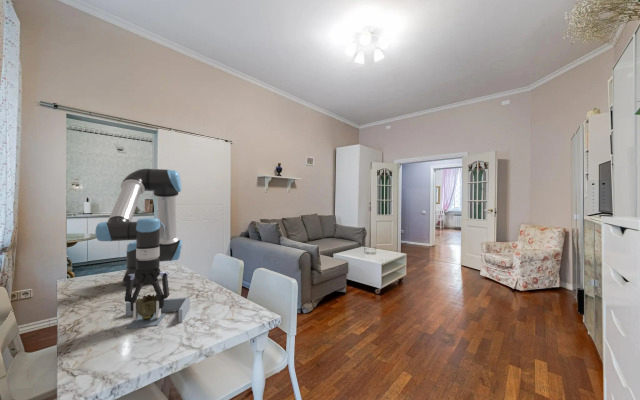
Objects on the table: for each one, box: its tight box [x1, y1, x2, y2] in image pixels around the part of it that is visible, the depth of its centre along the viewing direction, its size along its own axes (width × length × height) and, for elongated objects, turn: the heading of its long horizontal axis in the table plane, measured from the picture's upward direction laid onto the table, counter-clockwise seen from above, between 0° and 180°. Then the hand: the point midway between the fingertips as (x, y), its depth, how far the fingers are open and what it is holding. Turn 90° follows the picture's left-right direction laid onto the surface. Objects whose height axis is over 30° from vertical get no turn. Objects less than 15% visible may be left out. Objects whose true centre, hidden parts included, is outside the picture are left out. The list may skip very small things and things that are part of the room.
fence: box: [125, 296, 191, 324], centre depth 99 cm, size 13×23×5 cm, turn 105°
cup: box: [136, 294, 159, 320], centre depth 97 cm, size 8×7×8 cm
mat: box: [125, 312, 167, 330], centre depth 97 cm, size 10×10×1 cm
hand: (147, 317), depth 97 cm, fingers closed on cup, 7 cm apart
